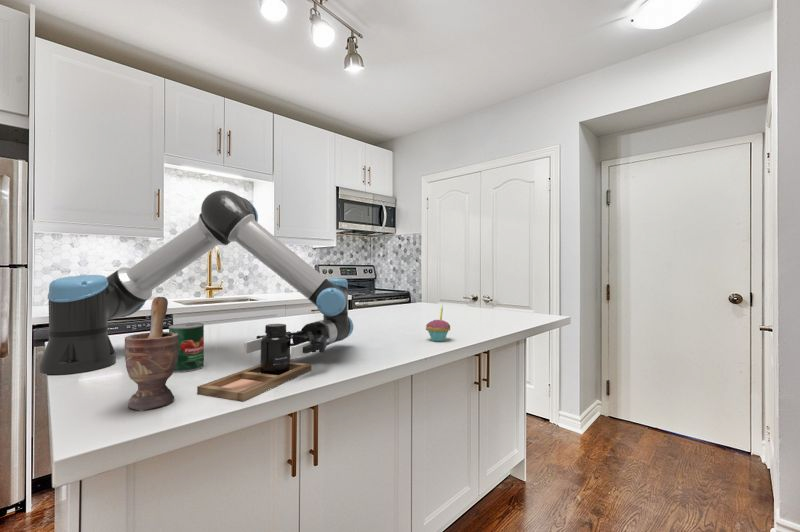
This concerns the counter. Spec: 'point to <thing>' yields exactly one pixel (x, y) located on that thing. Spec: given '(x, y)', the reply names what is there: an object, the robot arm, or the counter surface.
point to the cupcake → (438, 329)
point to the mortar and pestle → (152, 360)
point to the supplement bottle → (275, 350)
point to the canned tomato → (189, 346)
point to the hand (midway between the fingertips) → (268, 350)
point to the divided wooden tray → (249, 382)
